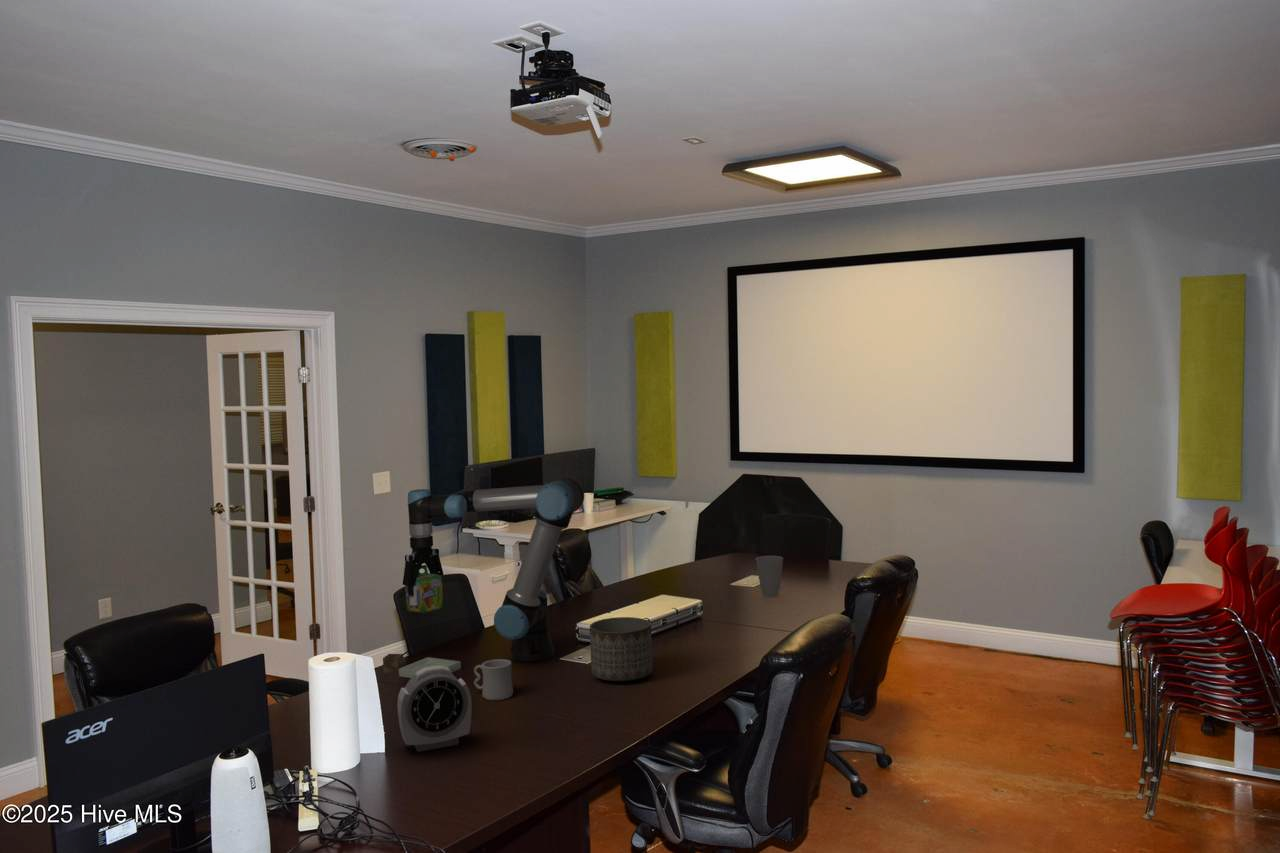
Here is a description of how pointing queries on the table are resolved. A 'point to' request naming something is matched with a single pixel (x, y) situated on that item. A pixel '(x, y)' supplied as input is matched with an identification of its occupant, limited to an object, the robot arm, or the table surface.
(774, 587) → the cup
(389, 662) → the walnut block
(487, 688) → the mug
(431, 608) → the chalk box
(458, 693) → the alarm clock
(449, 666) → the tray
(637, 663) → the planter
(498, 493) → the robot arm
